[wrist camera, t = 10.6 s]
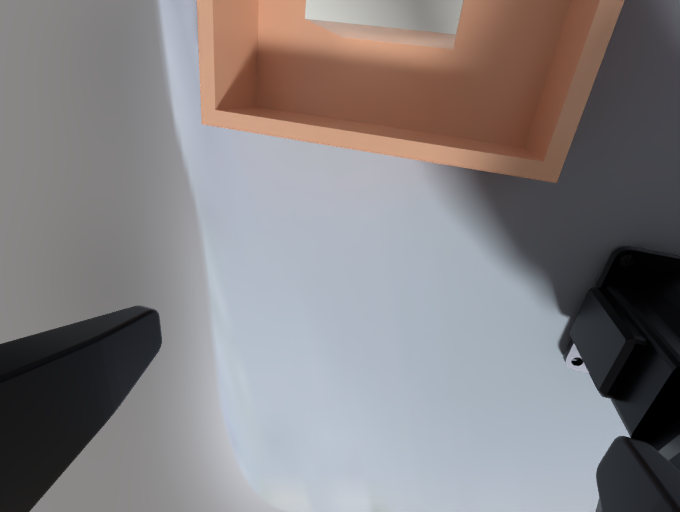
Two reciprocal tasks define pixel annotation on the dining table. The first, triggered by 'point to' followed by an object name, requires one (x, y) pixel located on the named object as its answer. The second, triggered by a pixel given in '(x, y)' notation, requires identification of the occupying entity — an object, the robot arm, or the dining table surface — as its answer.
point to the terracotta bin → (410, 82)
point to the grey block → (390, 20)
